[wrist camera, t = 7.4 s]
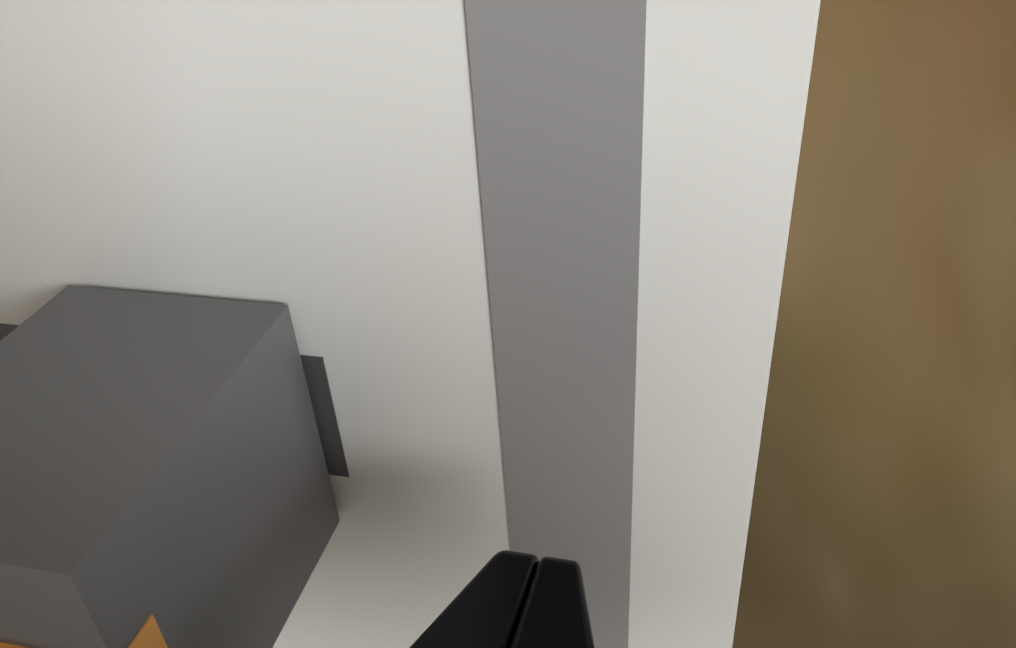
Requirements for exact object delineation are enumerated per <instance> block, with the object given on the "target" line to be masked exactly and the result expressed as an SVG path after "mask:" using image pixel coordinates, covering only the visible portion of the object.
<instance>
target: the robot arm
mask: <svg viewBox="0 0 1016 648" xmlns="http://www.w3.org/2000/svg"><path fill="white" fill-rule="evenodd" d="M410 648H595V646H594V640H593V634H592V628H591V622H590V617H589V611H588V605H587V599H586V593H585V587H584V581H583V575H582V570H581V566H580V565H579V563H578V562H576V561H573V560H567V559H560V558H554V557H543V558H541V559H540V561H539V559H538V557H536V556H535V555H533V554H528V553H521V552H514V551H508V550H502V551H500V552H498V553H496V554H495V555H494V556H493V557H492V558H491V559H490V560H489V561H488V563H487V564H486V565H485V566H484V567H483V568H482V569H481V570H480V571H479V572H478V573H477V575H476V576H475V577H474V578H473V579H472V580H471V581H470V582H469V583H468V584H467V585H466V587H465V588H464V589H463V590H462V591H461V592H460V593H459V594H458V595H457V596H456V597H455V599H454V600H453V601H452V602H451V603H450V604H449V605H448V606H447V607H446V608H445V609H444V611H443V612H442V613H441V614H440V615H439V616H438V617H437V618H436V619H435V620H434V621H433V623H432V624H431V625H430V626H429V627H428V628H427V629H426V630H425V631H424V632H423V633H422V635H421V636H420V637H419V638H418V639H417V640H416V641H415V642H414V643H413V644H412V645H411V647H410Z"/></svg>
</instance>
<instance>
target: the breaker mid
mask: <svg viewBox="0 0 1016 648" xmlns="http://www.w3.org/2000/svg"><path fill="white" fill-rule="evenodd" d="M339 521H340V519H339V515H338V511H337V507H336V503H335V498H334V494H333V490H332V486H331V482H330V478H329V473H328V469H327V465H326V461H325V457H324V453H323V448H322V444H321V440H320V436H319V432H318V428H317V423H316V419H315V415H314V411H313V407H312V403H311V399H310V394H309V390H308V386H307V382H306V378H305V374H304V369H303V365H302V361H301V357H300V353H299V349H298V344H297V340H296V336H295V332H294V328H293V324H292V319H291V315H290V311H289V307H288V305H283V304H272V303H261V302H250V301H239V300H228V299H216V298H205V297H194V296H183V295H172V294H161V293H150V292H138V291H127V290H116V289H105V288H94V287H83V286H72V285H68V286H67V287H65V288H64V289H63V290H62V291H60V292H59V293H58V294H57V295H56V296H54V297H53V298H52V299H51V300H50V301H48V302H47V303H46V304H45V305H43V306H42V307H41V308H40V309H39V310H37V311H36V312H35V313H34V314H32V315H31V316H30V317H29V318H28V319H26V320H25V321H24V322H23V323H21V324H20V325H19V326H18V327H17V328H15V329H14V330H13V331H12V332H11V333H9V334H8V335H7V336H6V337H4V338H3V339H2V340H1V341H0V648H273V646H274V644H275V642H276V640H277V638H278V636H279V635H280V633H281V631H282V629H283V627H284V625H285V623H286V621H287V619H288V618H289V616H290V614H291V612H292V610H293V608H294V606H295V604H296V602H297V601H298V599H299V597H300V595H301V593H302V591H303V589H304V587H305V586H306V584H307V582H308V580H309V578H310V576H311V574H312V572H313V570H314V569H315V567H316V565H317V563H318V561H319V559H320V557H321V555H322V553H323V552H324V550H325V548H326V546H327V544H328V542H329V540H330V538H331V537H332V535H333V533H334V531H335V529H336V527H337V525H338V523H339Z"/></svg>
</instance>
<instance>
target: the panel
mask: <svg viewBox="0 0 1016 648" xmlns="http://www.w3.org/2000/svg"><path fill="white" fill-rule="evenodd" d="M819 8H820V0H0V341H1V340H2V339H3V338H4V337H6V336H7V335H8V334H9V333H11V332H12V331H13V330H14V329H15V328H17V327H18V326H19V325H20V324H21V323H23V322H24V321H25V320H26V319H28V318H29V317H30V316H31V315H32V314H34V313H35V312H36V311H37V310H39V309H40V308H41V307H42V306H43V305H45V304H46V303H47V302H48V301H50V300H51V299H52V298H53V297H54V296H56V295H57V294H58V293H59V292H60V291H62V290H63V289H64V288H65V287H67V286H68V285H72V286H83V287H94V288H105V289H116V290H127V291H138V292H150V293H161V294H172V295H183V296H194V297H205V298H216V299H228V300H239V301H250V302H261V303H272V304H283V305H288V307H289V311H290V315H291V319H292V324H293V328H294V332H295V336H296V340H297V344H298V349H299V353H300V357H301V361H302V365H303V369H304V374H305V378H306V382H307V386H308V390H309V394H310V399H311V403H312V407H313V411H314V415H315V419H316V423H317V428H318V432H319V436H320V440H321V444H322V448H323V453H324V457H325V461H326V465H327V469H328V473H329V478H330V482H331V486H332V490H333V494H334V498H335V503H336V507H337V511H338V515H339V519H340V521H339V523H338V525H337V527H336V529H335V531H334V533H333V535H332V537H331V538H330V540H329V542H328V544H327V546H326V548H325V550H324V552H323V553H322V555H321V557H320V559H319V561H318V563H317V565H316V567H315V569H314V570H313V572H312V574H311V576H310V578H309V580H308V582H307V584H306V586H305V587H304V589H303V591H302V593H301V595H300V597H299V599H298V601H297V602H296V604H295V606H294V608H293V610H292V612H291V614H290V616H289V618H288V619H287V621H286V623H285V625H284V627H283V629H282V631H281V633H280V635H279V636H278V638H277V640H276V642H275V644H274V646H273V648H410V647H411V645H412V644H413V643H414V642H415V641H416V640H417V639H418V638H419V637H420V636H421V635H422V633H423V632H424V631H425V630H426V629H427V628H428V627H429V626H430V625H431V624H432V623H433V621H434V620H435V619H436V618H437V617H438V616H439V615H440V614H441V613H442V612H443V611H444V609H445V608H446V607H447V606H448V605H449V604H450V603H451V602H452V601H453V600H454V599H455V597H456V596H457V595H458V594H459V593H460V592H461V591H462V590H463V589H464V588H465V587H466V585H467V584H468V583H469V582H470V581H471V580H472V579H473V578H474V577H475V576H476V575H477V573H478V572H479V571H480V570H481V569H482V568H483V567H484V566H485V565H486V564H487V563H488V561H489V560H490V559H491V558H492V557H493V556H494V555H495V554H496V553H498V552H500V551H502V550H508V551H514V552H521V553H528V554H533V555H535V556H536V557H538V559H539V561H540V559H541V558H543V557H554V558H560V559H567V560H573V561H576V562H578V563H579V565H580V566H581V570H582V575H583V581H584V587H585V593H586V599H587V605H588V611H589V617H590V622H591V628H592V634H593V640H594V646H595V648H732V643H733V636H734V629H735V621H736V614H737V607H738V599H739V592H740V585H741V578H742V570H743V563H744V556H745V548H746V541H747V534H748V526H749V519H750V512H751V504H752V497H753V490H754V483H755V475H756V468H757V461H758V453H759V446H760V439H761V431H762V424H763V417H764V409H765V402H766V395H767V388H768V380H769V373H770V366H771V358H772V351H773V344H774V336H775V329H776V322H777V314H778V307H779V300H780V293H781V285H782V278H783V271H784V263H785V256H786V249H787V241H788V234H789V227H790V220H791V212H792V205H793V198H794V190H795V183H796V176H797V168H798V161H799V154H800V146H801V139H802V132H803V125H804V117H805V110H806V103H807V95H808V88H809V81H810V73H811V66H812V59H813V51H814V44H815V37H816V30H817V22H818V15H819Z"/></svg>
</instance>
